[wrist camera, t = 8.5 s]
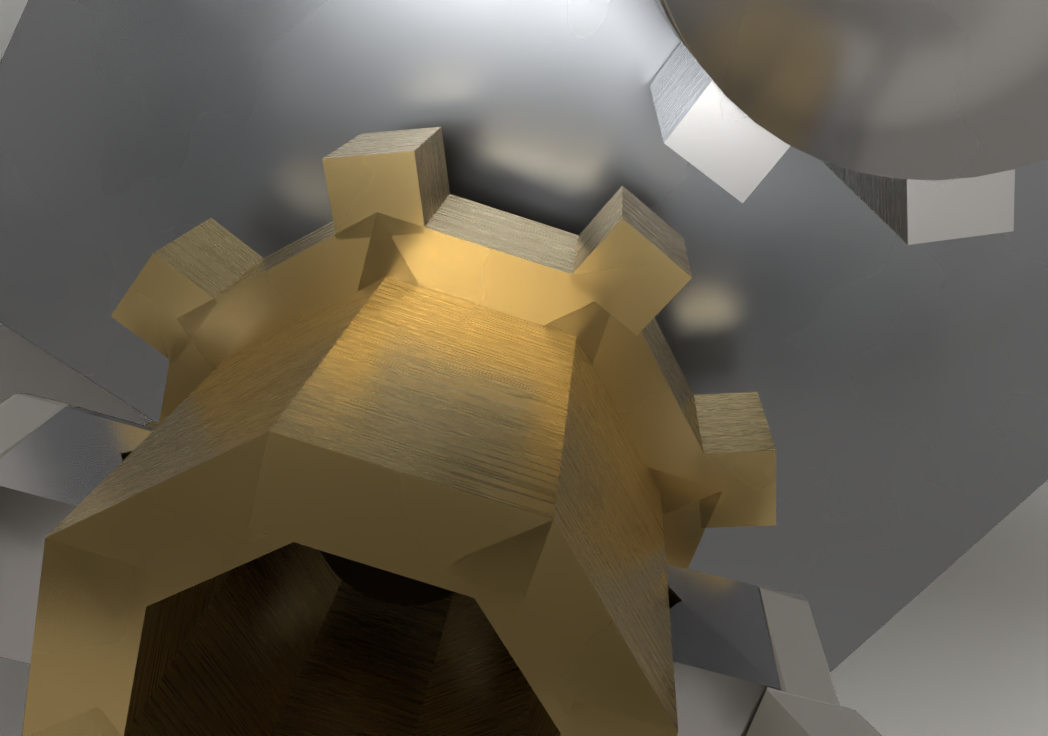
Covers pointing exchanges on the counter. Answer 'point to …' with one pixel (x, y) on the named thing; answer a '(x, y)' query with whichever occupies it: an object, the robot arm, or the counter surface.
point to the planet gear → (399, 479)
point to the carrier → (584, 189)
